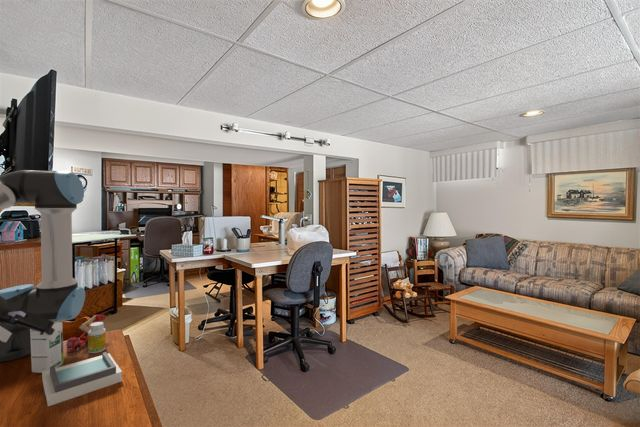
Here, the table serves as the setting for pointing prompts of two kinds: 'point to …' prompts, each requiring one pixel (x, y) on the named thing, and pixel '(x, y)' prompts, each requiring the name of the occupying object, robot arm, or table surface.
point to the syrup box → (46, 350)
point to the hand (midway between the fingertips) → (31, 337)
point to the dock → (80, 378)
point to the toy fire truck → (77, 343)
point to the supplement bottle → (96, 338)
